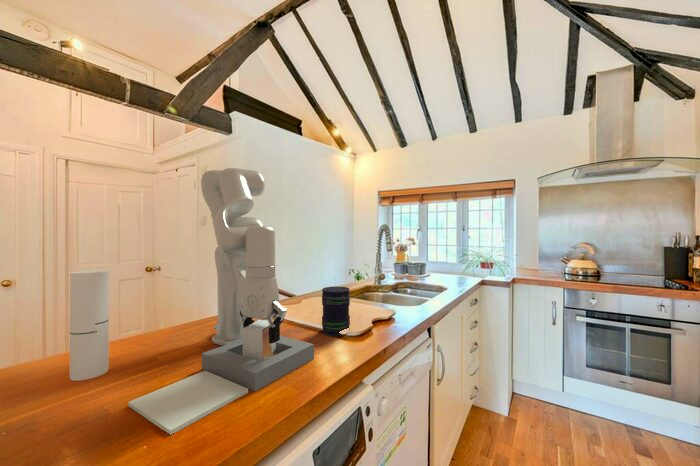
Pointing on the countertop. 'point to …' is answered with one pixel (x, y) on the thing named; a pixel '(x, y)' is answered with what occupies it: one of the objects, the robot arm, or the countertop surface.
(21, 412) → the countertop surface
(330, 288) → the storage jar
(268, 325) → the small box
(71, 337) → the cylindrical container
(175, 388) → the sage tile
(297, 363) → the pocket block
